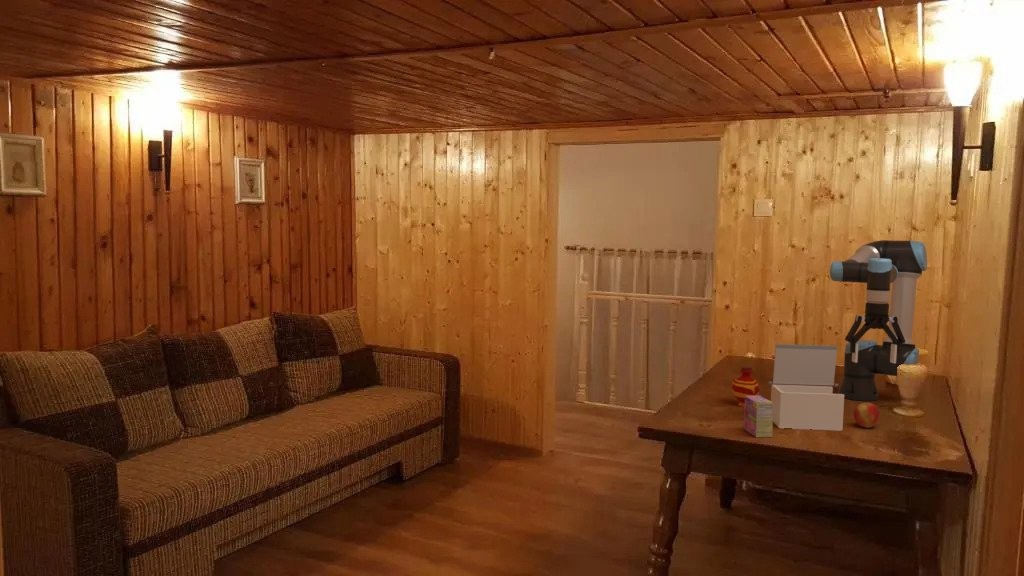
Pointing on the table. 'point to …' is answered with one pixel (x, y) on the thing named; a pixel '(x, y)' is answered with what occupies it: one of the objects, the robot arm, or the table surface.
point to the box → (758, 416)
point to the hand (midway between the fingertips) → (873, 362)
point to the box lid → (804, 364)
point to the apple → (866, 414)
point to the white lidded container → (807, 407)
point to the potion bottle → (745, 385)
